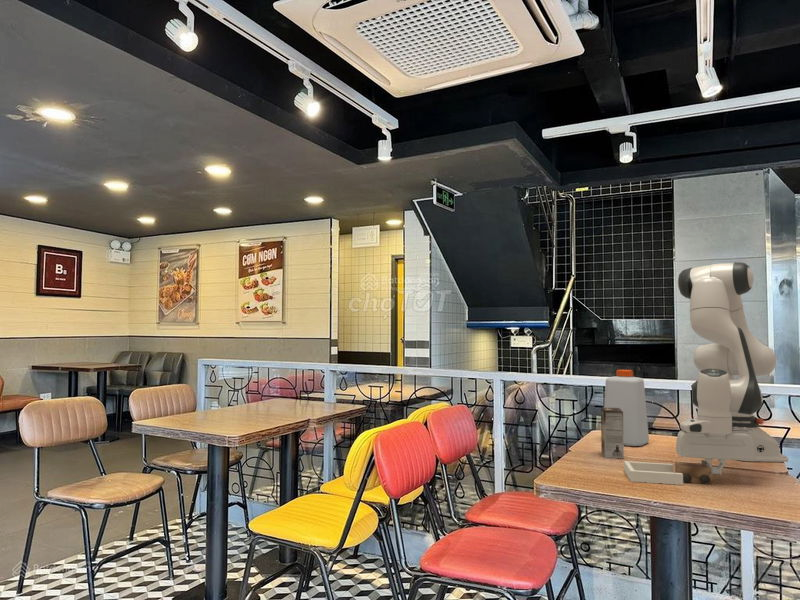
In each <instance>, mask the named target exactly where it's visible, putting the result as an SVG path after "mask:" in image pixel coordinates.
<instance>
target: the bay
mask: <svg viewBox="0 0 800 600" xmlns="http://www.w3.org/2000/svg"><path fill="white" fill-rule="evenodd" d="M623 471H624V473H625V475H626V474H627V475H626V476H627V478H628V480H629V481H630V482H633V483H644V482H646V484H659V483H662V484H661V485H663V484H664V485H674V484H675V485H676V486H684V482H683V474H682V473H675V472H674V463H661V462H644V461H631V460H629V461H626V460H624V461H623Z"/></svg>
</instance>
